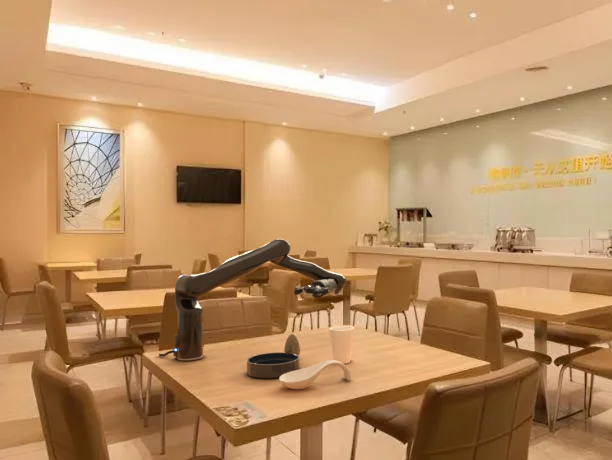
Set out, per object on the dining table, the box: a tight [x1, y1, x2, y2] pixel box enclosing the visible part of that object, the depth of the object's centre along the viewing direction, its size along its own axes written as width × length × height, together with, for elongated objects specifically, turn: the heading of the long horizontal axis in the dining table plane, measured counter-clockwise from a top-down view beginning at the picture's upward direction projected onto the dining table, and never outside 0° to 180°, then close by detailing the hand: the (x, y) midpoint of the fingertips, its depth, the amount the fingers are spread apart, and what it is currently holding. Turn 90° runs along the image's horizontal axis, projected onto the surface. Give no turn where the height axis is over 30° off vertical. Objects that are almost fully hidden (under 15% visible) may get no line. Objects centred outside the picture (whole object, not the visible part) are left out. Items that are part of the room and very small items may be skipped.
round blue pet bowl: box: [246, 351, 301, 379], centre depth 190 cm, size 18×18×5 cm
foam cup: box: [328, 325, 355, 365], centre depth 205 cm, size 10×9×13 cm
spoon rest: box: [278, 359, 352, 390], centre depth 175 cm, size 24×12×7 cm, turn 120°
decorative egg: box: [283, 334, 301, 356], centre depth 208 cm, size 6×6×10 cm
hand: (305, 292), depth 218 cm, fingers open, 8 cm apart
